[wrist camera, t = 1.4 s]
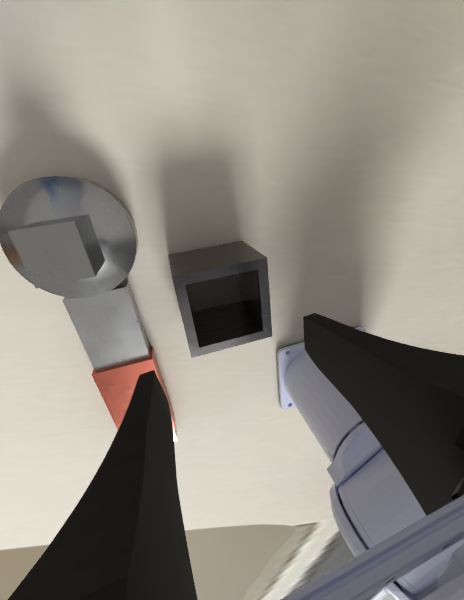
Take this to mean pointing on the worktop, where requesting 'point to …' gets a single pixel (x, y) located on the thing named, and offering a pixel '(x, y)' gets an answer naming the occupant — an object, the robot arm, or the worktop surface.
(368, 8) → the worktop surface
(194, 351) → the hollow square tube
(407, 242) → the worktop surface
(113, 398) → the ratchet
